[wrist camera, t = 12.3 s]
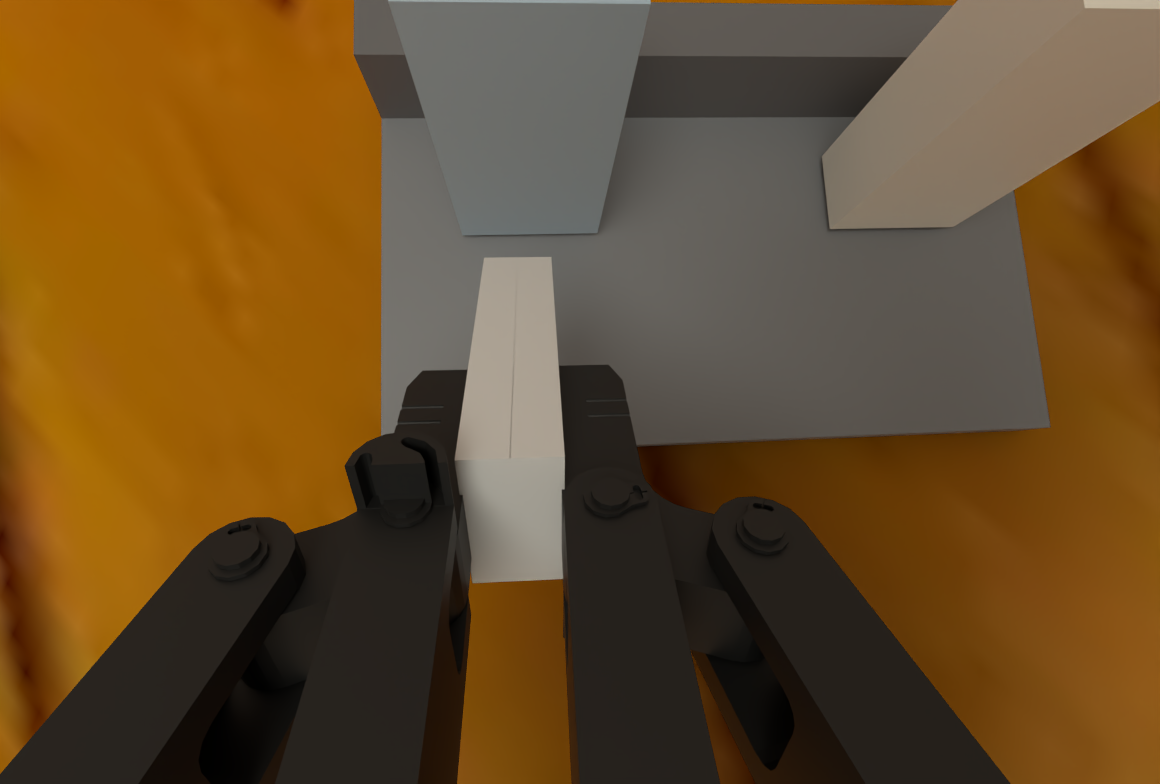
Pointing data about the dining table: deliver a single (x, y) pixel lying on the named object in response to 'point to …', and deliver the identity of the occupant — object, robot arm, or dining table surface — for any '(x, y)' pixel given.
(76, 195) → the dining table surface
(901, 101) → the cream key
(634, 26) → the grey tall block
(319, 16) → the dining table surface
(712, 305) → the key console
